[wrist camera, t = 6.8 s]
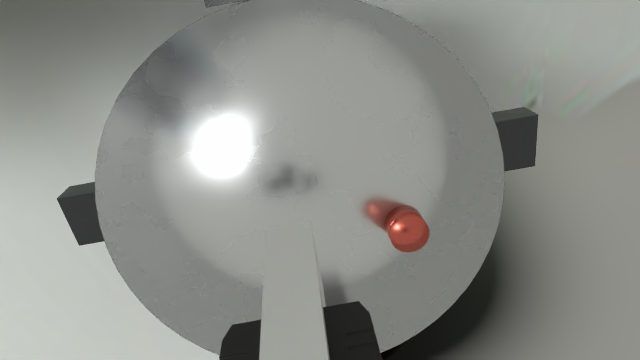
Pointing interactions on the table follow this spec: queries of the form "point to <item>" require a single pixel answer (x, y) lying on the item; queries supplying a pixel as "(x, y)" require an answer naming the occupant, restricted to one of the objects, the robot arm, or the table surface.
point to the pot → (80, 199)
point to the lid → (299, 166)
